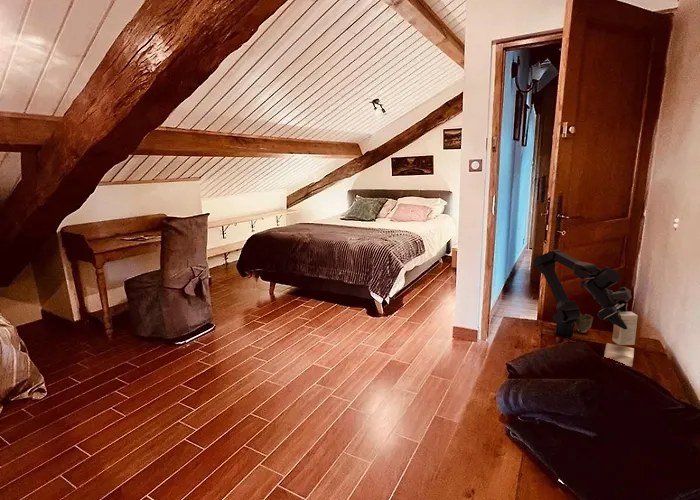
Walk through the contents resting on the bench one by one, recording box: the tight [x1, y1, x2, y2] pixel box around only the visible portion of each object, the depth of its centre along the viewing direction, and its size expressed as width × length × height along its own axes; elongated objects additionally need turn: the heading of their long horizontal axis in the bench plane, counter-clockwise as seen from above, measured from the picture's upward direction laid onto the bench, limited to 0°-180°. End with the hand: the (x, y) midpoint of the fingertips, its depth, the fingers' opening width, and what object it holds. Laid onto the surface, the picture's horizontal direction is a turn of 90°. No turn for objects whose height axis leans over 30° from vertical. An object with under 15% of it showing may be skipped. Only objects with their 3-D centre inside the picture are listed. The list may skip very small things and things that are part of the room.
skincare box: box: [611, 311, 639, 346], centre depth 151 cm, size 6×4×12 cm
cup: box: [573, 312, 594, 334], centre depth 176 cm, size 8×7×8 cm
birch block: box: [603, 342, 635, 368], centre depth 152 cm, size 9×9×4 cm
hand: (629, 326), depth 150 cm, fingers closed on skincare box, 7 cm apart
